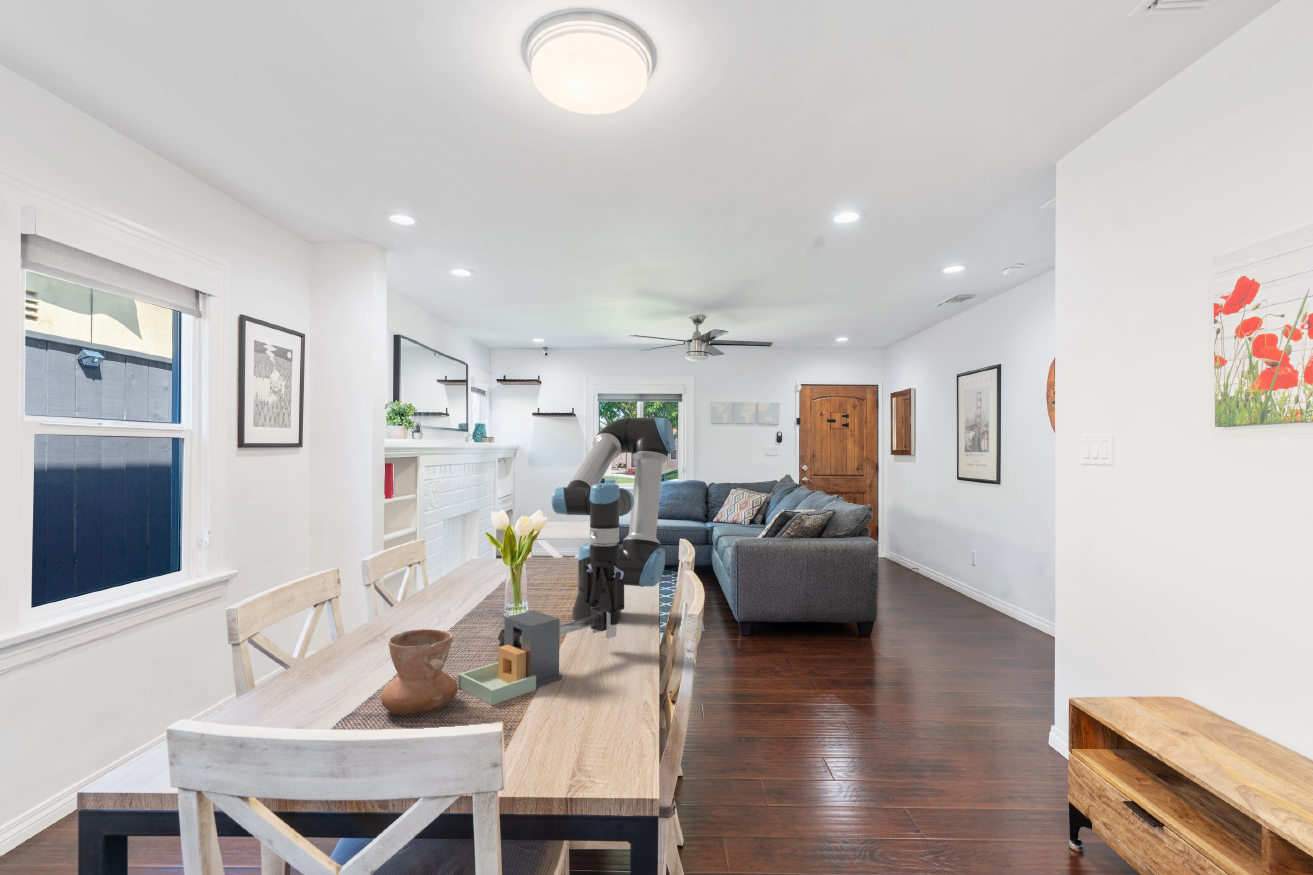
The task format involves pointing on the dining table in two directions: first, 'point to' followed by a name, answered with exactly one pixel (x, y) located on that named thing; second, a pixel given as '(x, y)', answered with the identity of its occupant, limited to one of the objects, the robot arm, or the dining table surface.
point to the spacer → (511, 664)
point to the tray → (493, 684)
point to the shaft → (584, 622)
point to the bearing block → (536, 644)
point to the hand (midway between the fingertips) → (603, 634)
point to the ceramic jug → (419, 673)
